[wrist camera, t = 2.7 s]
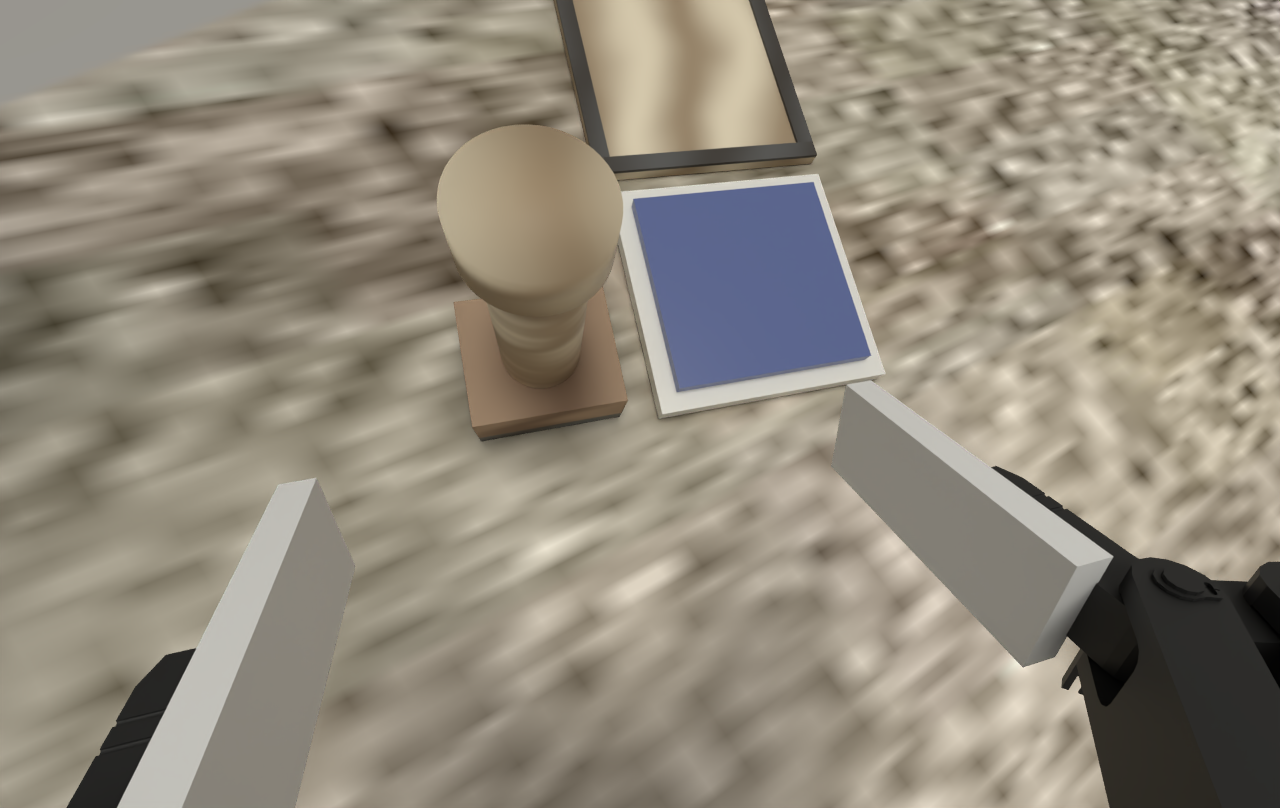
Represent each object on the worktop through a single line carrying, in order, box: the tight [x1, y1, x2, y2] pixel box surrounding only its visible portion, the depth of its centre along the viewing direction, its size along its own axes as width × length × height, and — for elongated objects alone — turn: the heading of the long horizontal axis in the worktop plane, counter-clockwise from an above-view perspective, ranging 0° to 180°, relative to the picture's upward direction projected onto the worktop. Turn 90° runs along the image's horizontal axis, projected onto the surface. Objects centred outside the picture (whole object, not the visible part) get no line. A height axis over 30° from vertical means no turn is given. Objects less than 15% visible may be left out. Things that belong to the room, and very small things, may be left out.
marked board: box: [554, 0, 817, 180], centre depth 34 cm, size 14×14×1 cm
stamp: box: [437, 125, 628, 441], centre depth 21 cm, size 7×6×14 cm
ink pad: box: [618, 174, 885, 419], centre depth 30 cm, size 13×13×2 cm
